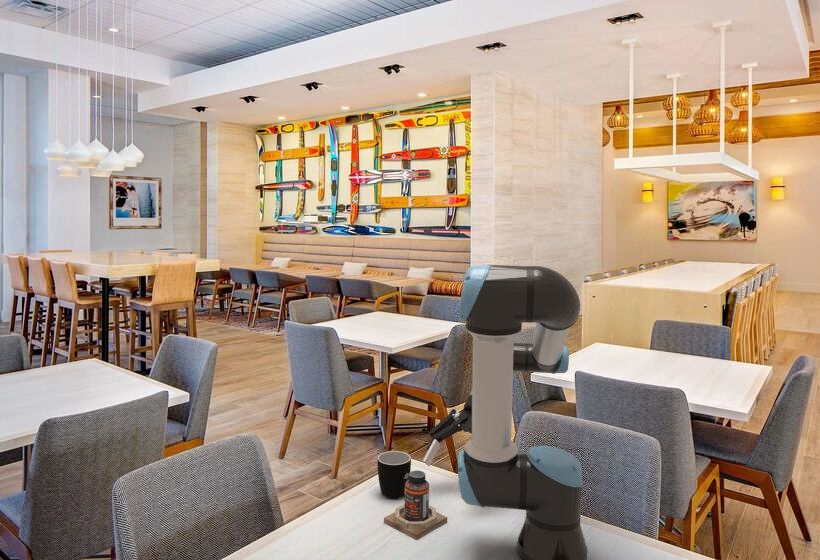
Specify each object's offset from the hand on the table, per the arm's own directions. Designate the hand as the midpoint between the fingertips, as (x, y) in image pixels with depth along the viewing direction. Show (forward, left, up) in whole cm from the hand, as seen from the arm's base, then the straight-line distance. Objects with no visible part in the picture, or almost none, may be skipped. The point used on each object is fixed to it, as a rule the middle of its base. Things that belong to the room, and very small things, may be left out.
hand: (445, 471), depth 150 cm
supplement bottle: (0, +11, -8) cm, 14 cm away
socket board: (0, +11, -9) cm, 15 cm away
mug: (+15, +3, -9) cm, 18 cm away
